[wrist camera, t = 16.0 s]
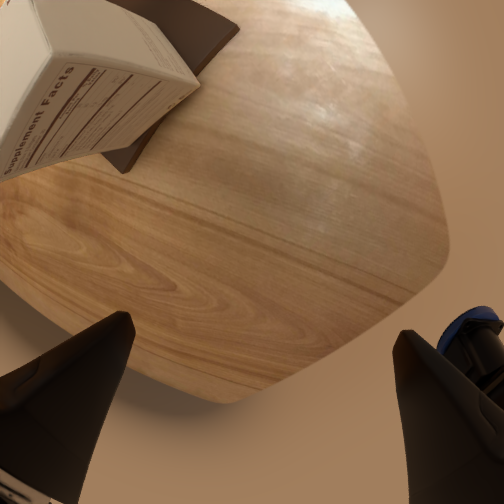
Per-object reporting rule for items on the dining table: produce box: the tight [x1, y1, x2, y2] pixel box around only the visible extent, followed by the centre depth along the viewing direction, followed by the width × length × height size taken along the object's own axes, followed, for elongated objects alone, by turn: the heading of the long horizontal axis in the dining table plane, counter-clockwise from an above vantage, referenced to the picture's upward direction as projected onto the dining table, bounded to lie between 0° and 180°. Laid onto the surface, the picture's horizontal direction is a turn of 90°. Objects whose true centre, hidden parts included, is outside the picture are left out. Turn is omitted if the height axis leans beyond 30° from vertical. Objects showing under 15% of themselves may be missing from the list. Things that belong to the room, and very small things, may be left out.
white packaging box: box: [0, 0, 200, 183], centre depth 10 cm, size 7×7×13 cm
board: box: [101, 0, 240, 174], centre depth 14 cm, size 32×14×1 cm, turn 48°
